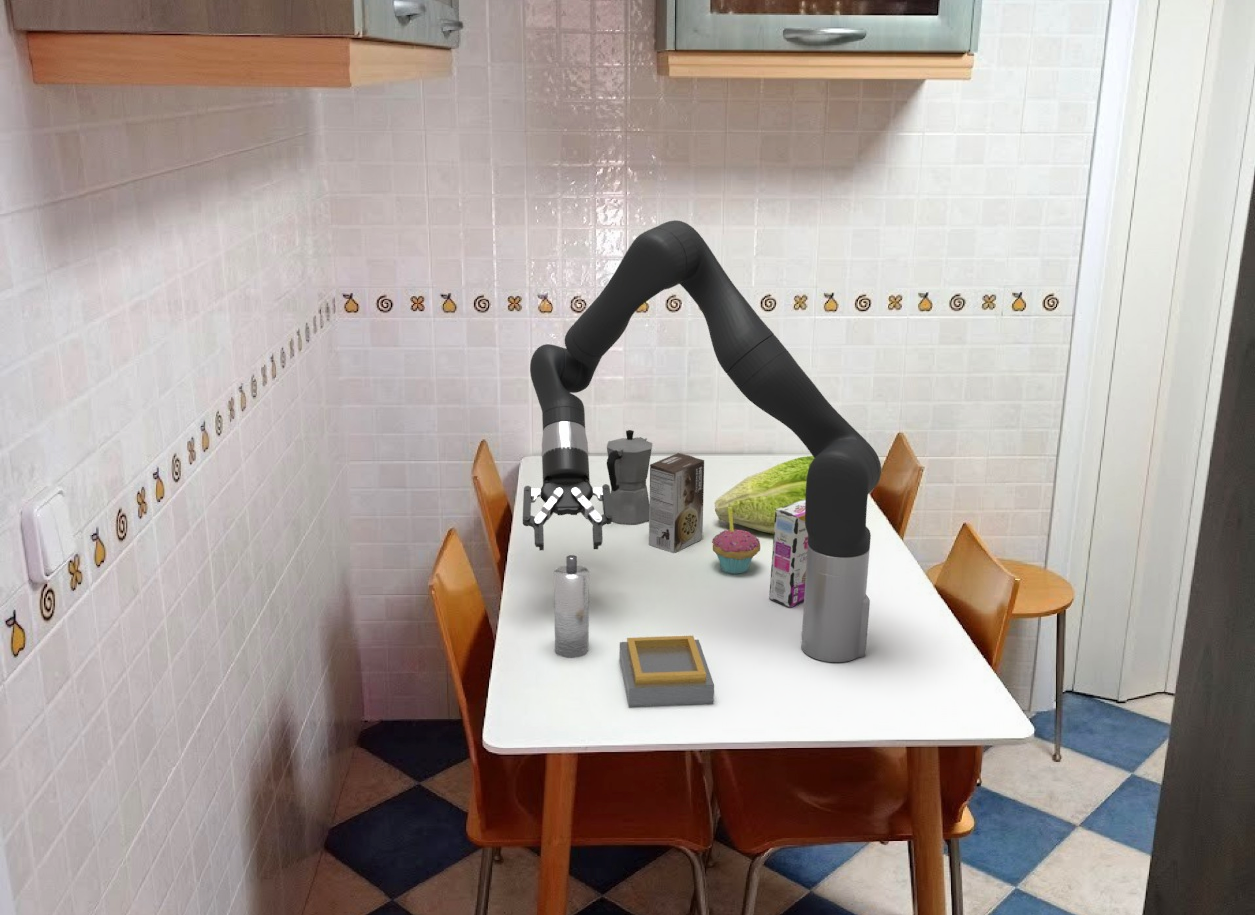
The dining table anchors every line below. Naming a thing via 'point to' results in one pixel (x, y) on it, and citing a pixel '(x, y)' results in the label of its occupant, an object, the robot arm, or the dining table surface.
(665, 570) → the dining table surface
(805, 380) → the robot arm
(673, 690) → the grey square tray
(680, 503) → the coffee box
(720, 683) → the dining table surface
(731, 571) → the cupcake
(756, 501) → the lettuce
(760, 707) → the dining table surface
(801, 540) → the candy bar box
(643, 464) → the coffeepot
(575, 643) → the spout can
